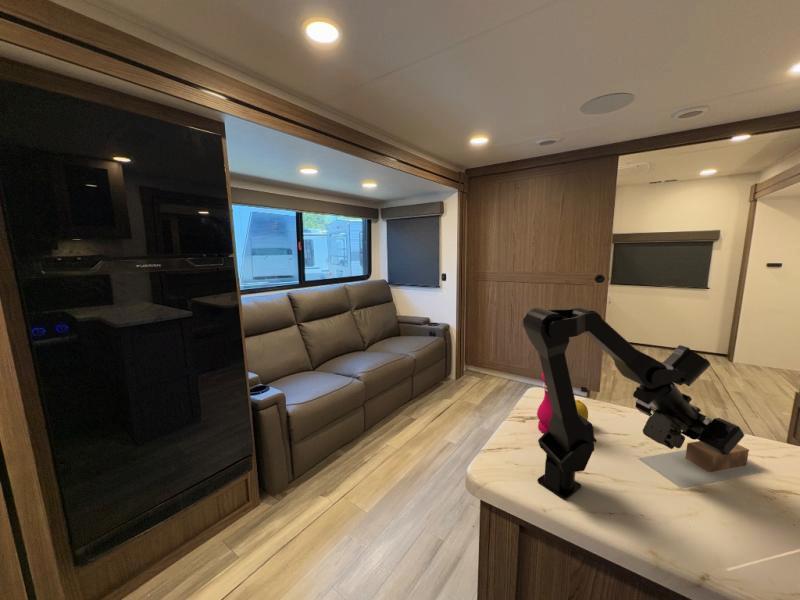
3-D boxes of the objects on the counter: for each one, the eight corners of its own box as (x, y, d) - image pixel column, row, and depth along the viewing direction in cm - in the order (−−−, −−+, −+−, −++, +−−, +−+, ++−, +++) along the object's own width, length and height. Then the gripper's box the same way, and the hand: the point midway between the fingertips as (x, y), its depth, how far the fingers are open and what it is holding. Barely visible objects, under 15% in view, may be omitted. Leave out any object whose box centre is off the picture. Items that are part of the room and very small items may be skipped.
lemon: (567, 419, 95) (569, 394, 94) (588, 425, 92) (591, 399, 90) (563, 427, 91) (565, 401, 90) (585, 434, 87) (587, 406, 86)
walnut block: (711, 456, 71) (749, 449, 73) (687, 443, 76) (723, 437, 78) (708, 472, 71) (746, 465, 74) (685, 458, 76) (720, 452, 78)
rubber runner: (680, 489, 67) (681, 488, 67) (637, 459, 77) (637, 458, 77) (762, 473, 71) (763, 471, 71) (711, 446, 81) (711, 445, 81)
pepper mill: (561, 441, 84) (566, 369, 81) (533, 431, 89) (537, 363, 85) (566, 428, 90) (571, 361, 87) (539, 420, 94) (543, 356, 91)
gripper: (606, 405, 78) (639, 440, 82) (689, 452, 60) (725, 495, 64) (636, 372, 78) (667, 408, 82) (727, 408, 60) (762, 453, 64)
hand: (700, 438), depth 73 cm, fingers closed
